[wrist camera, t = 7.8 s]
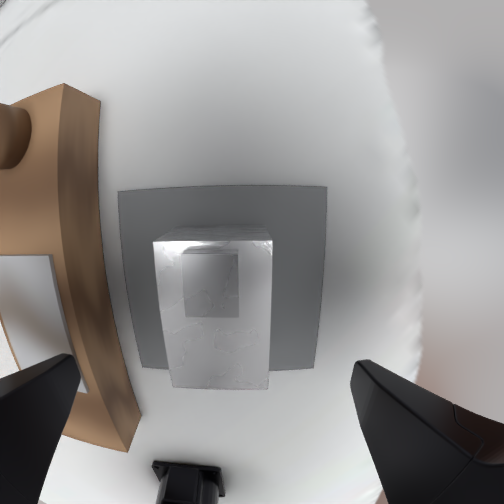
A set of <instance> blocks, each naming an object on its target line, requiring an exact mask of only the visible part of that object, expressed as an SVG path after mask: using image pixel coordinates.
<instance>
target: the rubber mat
mask: <svg viewBox="0 0 504 504" xmlns="http://www.w3.org/2000/svg"><path fill="white" fill-rule="evenodd" d="M118 207H119V223H120V236H121V246H122V256H123V264H124V272H125V280H126V287H127V293H128V300H129V306H130V311H131V317H132V322H133V327H134V332H135V337H136V342H137V346H138V351H139V355H140V359H141V364H142V367H145V368H156V369H169V365H168V359H167V353H166V347H165V341H164V335H163V328H162V321H161V314H160V307H159V299H158V290H157V281H156V271H155V260H154V247H153V241H155V240H156V239H158V238H159V237H161V236H162V235H164V234H165V233H167V232H168V231H170V230H171V229H173V228H174V227H176V226H199V225H265V227H266V229H267V231H268V233H269V235H270V237H271V239H272V240H273V251H272V292H271V324H270V352H269V371H280V370H296V369H309V368H314V361H315V353H316V345H317V336H318V328H319V318H320V308H321V297H322V285H323V272H324V256H325V238H326V212H327V187H317V186H271V185H246V186H200V187H177V188H159V189H144V190H131V191H120V192H118Z"/></svg>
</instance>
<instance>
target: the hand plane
mask: <svg viewBox="0 0 504 504" xmlns="http://www.w3.org/2000/svg"><path fill="white" fill-rule="evenodd" d="M100 102H101V101H99V100H97V99H95V98H93V97H91V96H89V95H87V94H85V93H83V92H81V91H79V90H77V89H75V88H73V87H71V86H69V85H67V84H65V83H63V84H60V85H57V86H54V87H52V88H49V89H46V90H44V91H41V92H39V93H36V94H34V95H32V96H29V97H27V98H25V99H22V100H20V101H18V102H16V103H14V104H12V105H6V104H1V103H0V321H1V324H2V327H3V330H4V333H5V336H6V339H7V341H8V344H9V347H10V349H11V352H12V354H13V357H14V359H15V362H16V364H17V366H18V369H19V371H20V370H23V369H25V368H28V367H30V366H32V365H35V364H37V363H40V362H42V361H45V360H47V359H49V358H52V357H54V356H56V355H59V354H61V353H66V354H71V355H73V356H74V358H75V360H76V363H77V366H78V368H79V371H80V374H81V381H80V384H79V387H78V390H77V393H76V396H75V399H74V403H73V406H72V409H71V412H70V415H69V418H68V420H67V422H66V425H65V427H64V430H63V432H62V435H65V436H68V437H71V438H74V439H77V440H80V441H83V442H87V443H90V444H94V445H97V446H101V447H105V448H109V449H113V450H117V451H122V452H127V453H128V451H129V448H130V445H131V442H132V440H133V437H134V434H135V432H136V429H137V426H138V424H139V421H140V418H141V414H140V411H139V408H138V405H137V402H136V399H135V396H134V393H133V390H132V387H131V384H130V380H129V377H128V374H127V370H126V367H125V363H124V359H123V356H122V352H121V348H120V344H119V340H118V335H117V331H116V327H115V322H114V317H113V312H112V307H111V302H110V297H109V291H108V285H107V279H106V272H105V265H104V257H103V249H102V240H101V229H100V217H99V200H98V130H99V114H100Z"/></svg>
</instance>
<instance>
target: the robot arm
mask: <svg viewBox="0 0 504 504" xmlns="http://www.w3.org/2000/svg"><path fill="white" fill-rule="evenodd" d="M80 381H81V374H80V371H79V368H78V366H77V363H76V360H75V358H74V356H73V355H71V354H66V353H61V354H59V355H56V356H54V357H52V358H49V359H47V360H45V361H42V362H40V363H37V364H35V365H32V366H30V367H28V368H25V369H23V370H20V371H18V372H15V373H13V374H11V375H8V376H6V377H3V378H1V379H0V504H37V503H38V500H39V497H40V494H41V490H42V487H43V484H44V481H45V478H46V475H47V472H48V469H49V466H50V463H51V461H52V458H53V455H54V453H55V450H56V447H57V445H58V442H59V440H60V437H61V435H62V432H63V430H64V427H65V425H66V422H67V420H68V418H69V415H70V412H71V409H72V406H73V403H74V399H75V396H76V393H77V390H78V387H79V384H80ZM350 387H351V392H352V395H353V399H354V403H355V407H356V411H357V415H358V419H359V423H360V427H361V430H362V432H363V435H364V438H365V440H366V443H367V446H368V448H369V451H370V454H371V456H372V459H373V462H374V464H375V467H376V470H377V473H378V475H379V478H380V481H381V484H382V487H383V489H384V492H385V495H386V498H387V501H388V504H504V424H503V423H500V422H497V421H494V420H491V419H488V418H486V417H483V416H481V415H478V414H475V413H473V412H470V411H469V410H466V409H464V408H462V407H460V406H458V405H456V404H452V402H450V401H448V400H446V399H444V398H442V397H440V396H438V395H435V394H434V393H432V392H429V391H428V390H426V389H424V388H422V387H420V386H418V385H416V384H414V383H412V382H410V381H408V380H406V379H404V378H403V377H401V376H399V375H397V374H395V373H393V372H391V371H389V370H387V369H386V368H384V367H382V366H380V365H378V364H376V363H374V362H373V361H371V360H368V359H366V360H359V361H357V362H355V365H354V368H353V373H352V377H351V381H350ZM152 468H153V470H154V472H155V474H156V475H157V477H158V479H159V481H160V486H159V491H158V496H157V500H156V504H218V497H225V489H224V484H223V479H222V473H221V469H219V468H215V467H198V466H187V465H177V464H169V463H161V462H153V463H152Z"/></svg>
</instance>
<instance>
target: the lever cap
mask: <svg viewBox="0 0 504 504" xmlns="http://www.w3.org/2000/svg"><path fill="white" fill-rule="evenodd" d="M153 247H154V260H155V271H156V281H157V290H158V299H159V307H160V314H161V321H162V328H163V335H164V341H165V347H166V353H167V359H168V365H169V370H170V375H171V380H172V385H173V387H179V388H196V389H226V390H250V389H268V375H269V352H270V324H271V292H272V251H273V240H272V239H271V237H270V235H269V233H268V231H267V229H266V227H265V225H199V226H176V227H174V228H173V229H171V230H170V231H168V232H167V233H165V234H164V235H162V236H161V237H159V238H158V239H156V240H155V241H153Z"/></svg>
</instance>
